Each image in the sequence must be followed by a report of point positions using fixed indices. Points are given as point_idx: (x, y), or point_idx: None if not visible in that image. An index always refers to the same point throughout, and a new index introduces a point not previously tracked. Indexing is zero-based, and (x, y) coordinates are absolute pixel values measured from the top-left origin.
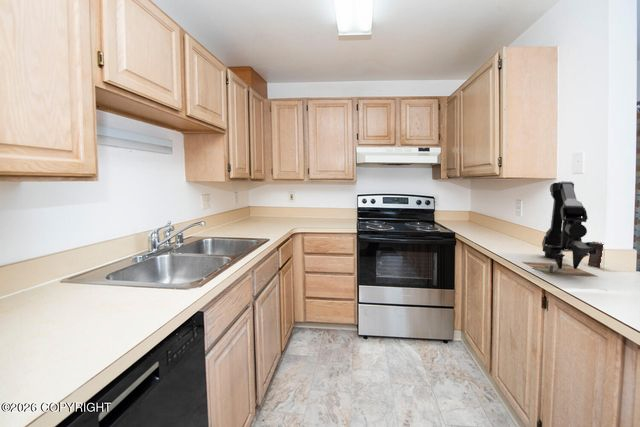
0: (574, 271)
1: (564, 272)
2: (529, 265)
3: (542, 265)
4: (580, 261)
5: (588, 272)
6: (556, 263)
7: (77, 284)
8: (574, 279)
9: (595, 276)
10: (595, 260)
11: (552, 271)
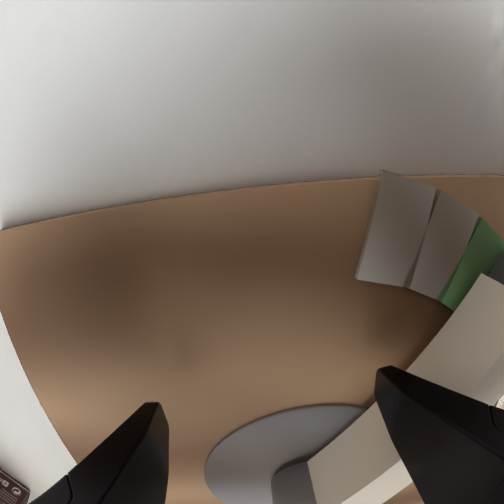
0: None
1: (324, 337)
2: None
3: None
4: (61, 481)
5: (29, 379)
6: (401, 463)
7: None
8: (291, 142)
9: (6, 231)
10: None
11: (499, 267)
